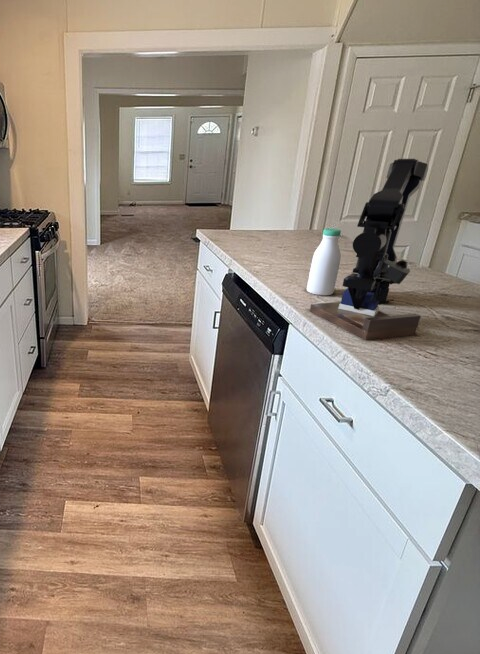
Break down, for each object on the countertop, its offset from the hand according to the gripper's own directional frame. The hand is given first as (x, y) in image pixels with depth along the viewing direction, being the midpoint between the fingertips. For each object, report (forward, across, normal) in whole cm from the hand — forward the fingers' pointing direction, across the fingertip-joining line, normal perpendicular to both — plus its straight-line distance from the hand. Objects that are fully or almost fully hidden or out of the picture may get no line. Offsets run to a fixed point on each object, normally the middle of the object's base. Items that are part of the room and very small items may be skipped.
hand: (358, 306), depth 108 cm
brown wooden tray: (+3, -3, -1) cm, 5 cm away
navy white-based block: (+1, 0, 0) cm, 1 cm away
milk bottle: (+3, +16, +14) cm, 22 cm away
